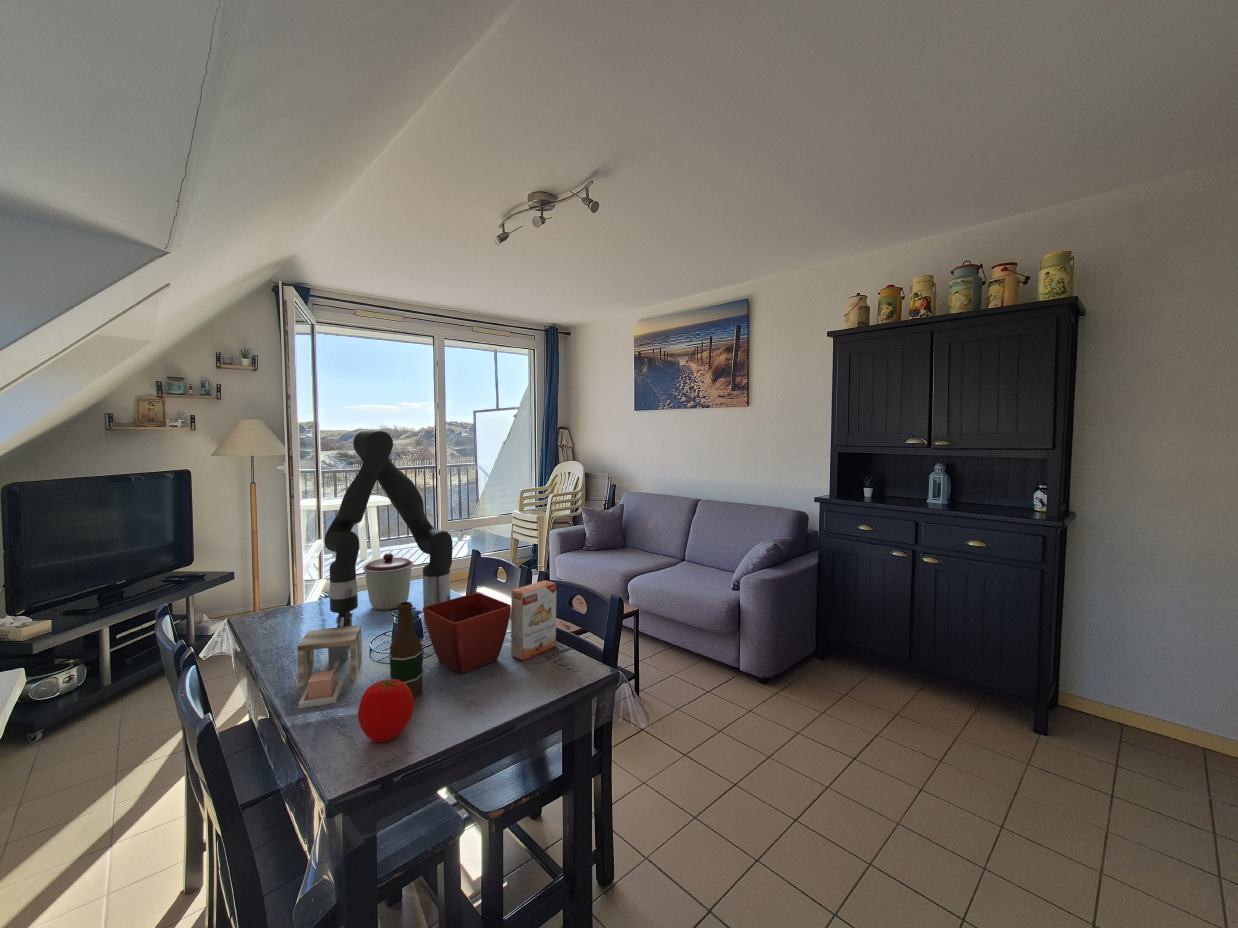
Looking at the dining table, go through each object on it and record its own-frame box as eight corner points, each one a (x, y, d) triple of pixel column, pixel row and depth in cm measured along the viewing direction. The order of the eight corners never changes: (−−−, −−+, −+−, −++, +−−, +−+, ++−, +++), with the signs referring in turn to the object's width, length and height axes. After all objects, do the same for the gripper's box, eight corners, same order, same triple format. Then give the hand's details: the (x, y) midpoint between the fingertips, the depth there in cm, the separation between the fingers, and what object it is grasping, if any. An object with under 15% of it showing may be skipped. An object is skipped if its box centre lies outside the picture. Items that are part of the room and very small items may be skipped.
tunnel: (309, 673, 141) (308, 630, 140) (362, 666, 145) (361, 624, 144) (299, 692, 130) (297, 646, 130) (356, 683, 135) (354, 639, 134)
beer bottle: (402, 703, 125) (400, 610, 124) (384, 695, 129) (381, 604, 128) (429, 690, 132) (427, 601, 130) (410, 682, 136) (408, 596, 134)
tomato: (347, 745, 108) (345, 688, 108) (386, 718, 118) (385, 666, 118) (386, 757, 104) (385, 698, 104) (423, 728, 114) (422, 674, 114)
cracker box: (523, 662, 148) (523, 593, 147) (510, 656, 152) (509, 589, 151) (557, 646, 159) (557, 582, 158) (544, 641, 163) (544, 578, 162)
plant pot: (422, 661, 148) (421, 606, 147) (478, 642, 162) (478, 591, 161) (454, 683, 135) (453, 623, 134) (513, 660, 149) (512, 605, 148)
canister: (417, 608, 193) (416, 555, 192) (365, 617, 184) (363, 561, 183) (410, 595, 209) (409, 546, 207) (362, 602, 200) (361, 551, 198)
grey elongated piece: (323, 664, 145) (322, 639, 145) (354, 659, 148) (353, 635, 148) (298, 712, 120) (297, 682, 120) (336, 706, 123) (335, 676, 122)
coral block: (335, 688, 129) (334, 669, 129) (331, 698, 125) (330, 678, 124) (313, 691, 128) (312, 672, 127) (308, 701, 123) (307, 682, 123)
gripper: (354, 599, 148) (356, 655, 149) (360, 586, 160) (362, 638, 161) (325, 602, 145) (327, 659, 146) (333, 589, 158) (335, 642, 159)
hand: (345, 648), depth 154 cm, fingers closed
